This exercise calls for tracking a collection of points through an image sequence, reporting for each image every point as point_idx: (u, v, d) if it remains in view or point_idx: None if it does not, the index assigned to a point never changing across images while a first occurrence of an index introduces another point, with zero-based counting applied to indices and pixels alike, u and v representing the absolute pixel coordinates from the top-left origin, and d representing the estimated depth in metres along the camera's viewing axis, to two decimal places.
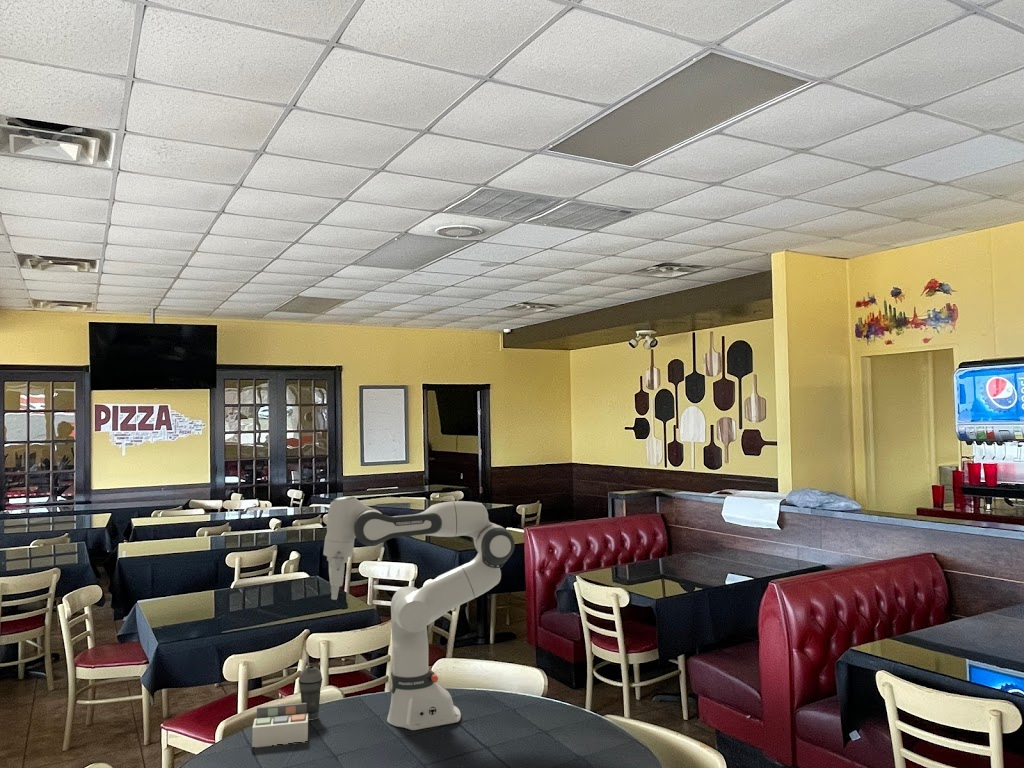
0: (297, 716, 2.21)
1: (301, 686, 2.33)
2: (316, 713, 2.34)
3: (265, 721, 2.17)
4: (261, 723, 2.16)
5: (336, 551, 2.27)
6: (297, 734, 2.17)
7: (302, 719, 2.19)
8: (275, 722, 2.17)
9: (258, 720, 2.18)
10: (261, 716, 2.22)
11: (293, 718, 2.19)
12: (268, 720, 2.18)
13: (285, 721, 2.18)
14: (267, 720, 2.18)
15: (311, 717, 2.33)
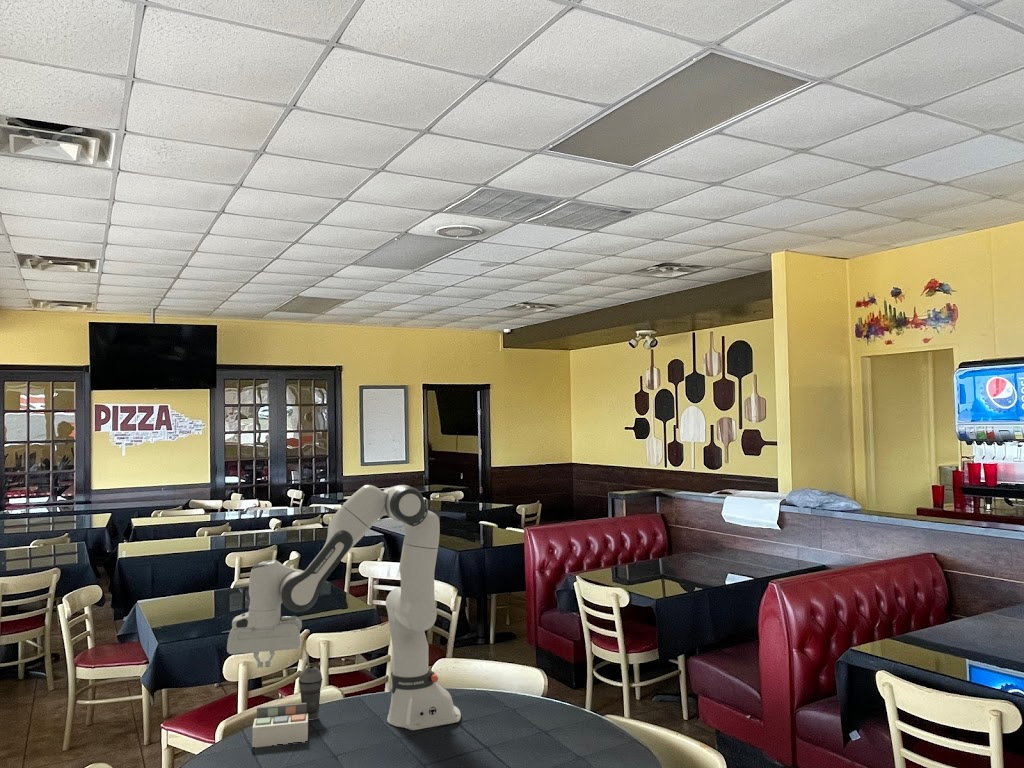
0: (297, 716, 2.21)
1: (301, 686, 2.33)
2: (316, 713, 2.34)
3: (265, 721, 2.17)
4: (261, 723, 2.16)
5: (280, 617, 2.20)
6: (297, 734, 2.17)
7: (302, 719, 2.19)
8: (275, 722, 2.17)
9: (258, 720, 2.18)
10: (261, 716, 2.22)
11: (293, 718, 2.19)
12: (268, 720, 2.18)
13: (285, 721, 2.18)
14: (267, 720, 2.18)
15: (311, 717, 2.33)
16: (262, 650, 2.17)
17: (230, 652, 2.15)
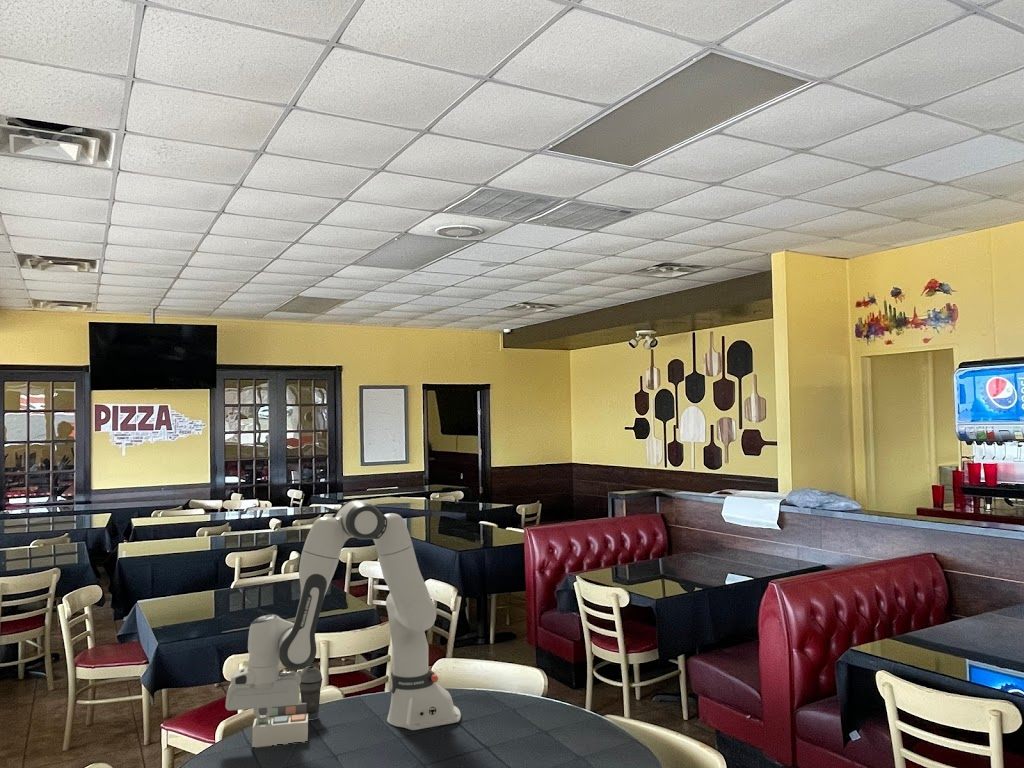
0: (297, 716, 2.21)
1: (301, 686, 2.33)
2: (316, 713, 2.34)
3: (265, 724, 2.17)
4: None
5: (279, 672, 2.19)
6: (297, 734, 2.17)
7: (302, 719, 2.19)
8: (275, 722, 2.17)
9: None
10: None
11: (293, 718, 2.19)
12: (268, 722, 2.18)
13: (285, 721, 2.18)
14: None
15: (311, 717, 2.33)
16: (261, 706, 2.16)
17: (229, 709, 2.14)
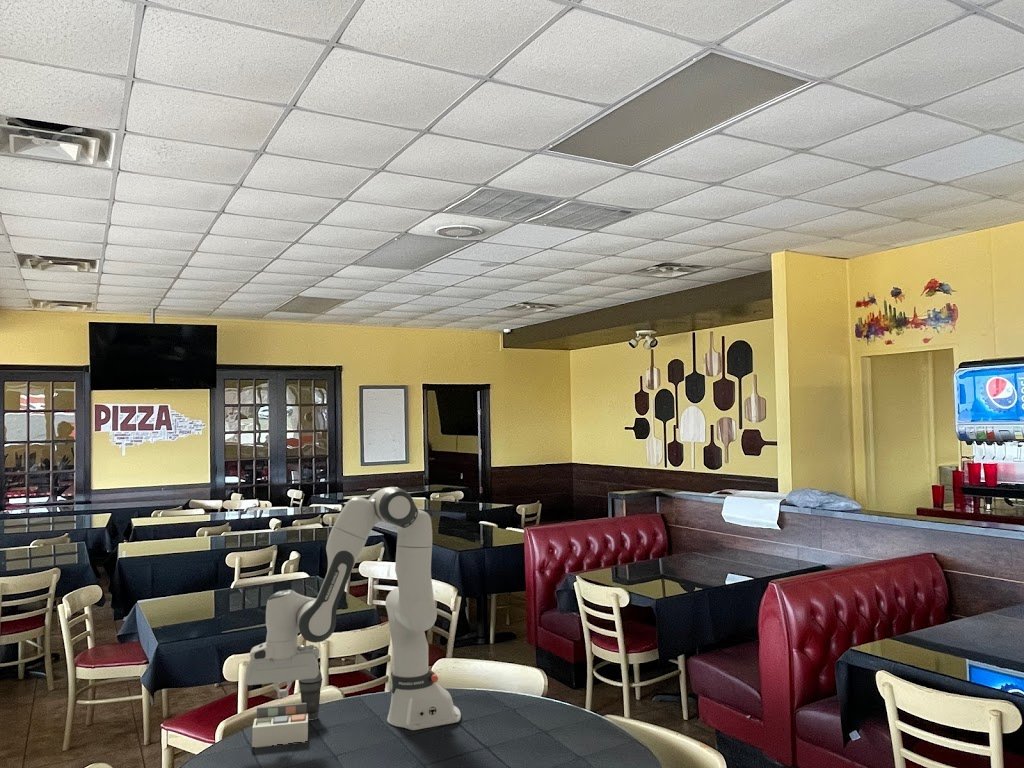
0: (297, 716, 2.21)
1: (301, 686, 2.33)
2: (316, 713, 2.34)
3: None
4: None
5: (297, 646, 2.21)
6: (297, 734, 2.17)
7: (302, 719, 2.19)
8: (275, 722, 2.17)
9: (258, 724, 2.18)
10: (261, 716, 2.22)
11: (293, 718, 2.19)
12: None
13: (285, 721, 2.18)
14: None
15: (311, 717, 2.33)
16: (280, 680, 2.18)
17: (249, 683, 2.16)
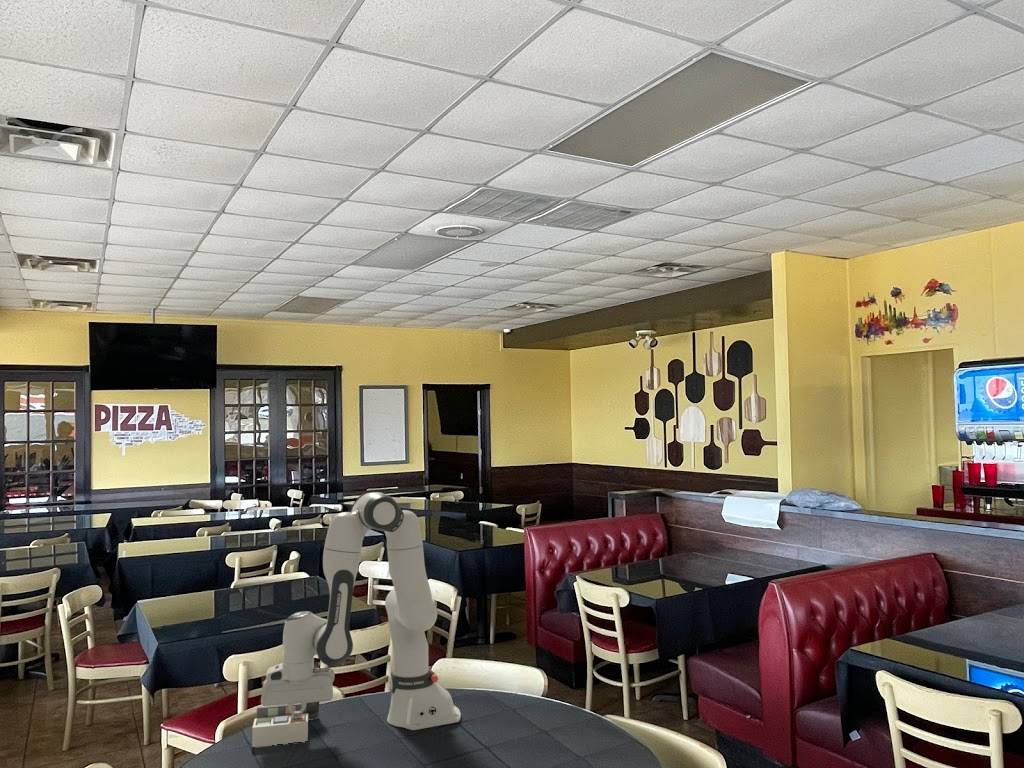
0: None
1: None
2: (316, 713, 2.34)
3: None
4: None
5: (313, 668, 2.21)
6: (297, 734, 2.17)
7: (302, 720, 2.19)
8: (275, 722, 2.17)
9: (258, 724, 2.18)
10: (261, 716, 2.22)
11: (293, 719, 2.19)
12: None
13: (285, 721, 2.18)
14: None
15: (311, 717, 2.33)
16: (295, 702, 2.19)
17: (264, 704, 2.17)
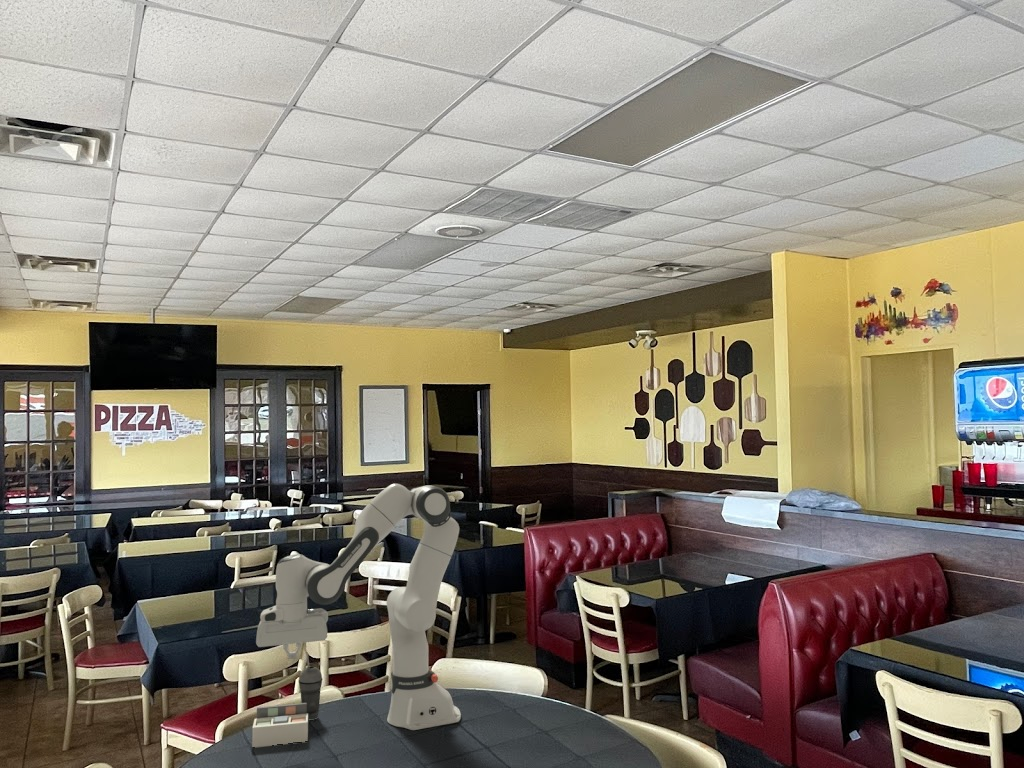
0: (297, 720, 2.21)
1: (301, 686, 2.33)
2: (316, 713, 2.34)
3: None
4: None
5: (306, 609, 2.25)
6: (297, 734, 2.17)
7: None
8: (275, 722, 2.17)
9: (258, 724, 2.18)
10: (261, 716, 2.22)
11: None
12: None
13: (285, 721, 2.18)
14: None
15: (311, 717, 2.33)
16: (290, 642, 2.22)
17: (259, 645, 2.20)
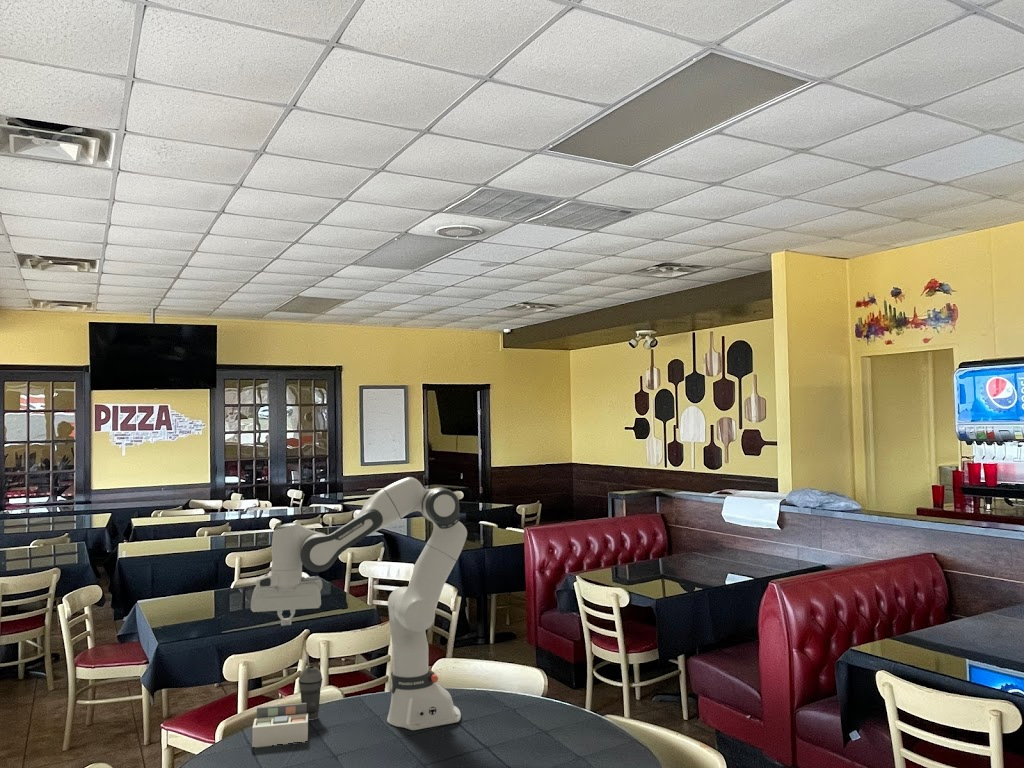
0: (297, 720, 2.21)
1: (301, 686, 2.33)
2: (316, 713, 2.34)
3: None
4: None
5: (301, 577, 2.28)
6: (297, 734, 2.17)
7: None
8: (275, 722, 2.17)
9: (258, 724, 2.18)
10: (261, 716, 2.22)
11: None
12: None
13: (285, 721, 2.18)
14: None
15: (311, 717, 2.33)
16: (284, 609, 2.25)
17: (254, 610, 2.23)
